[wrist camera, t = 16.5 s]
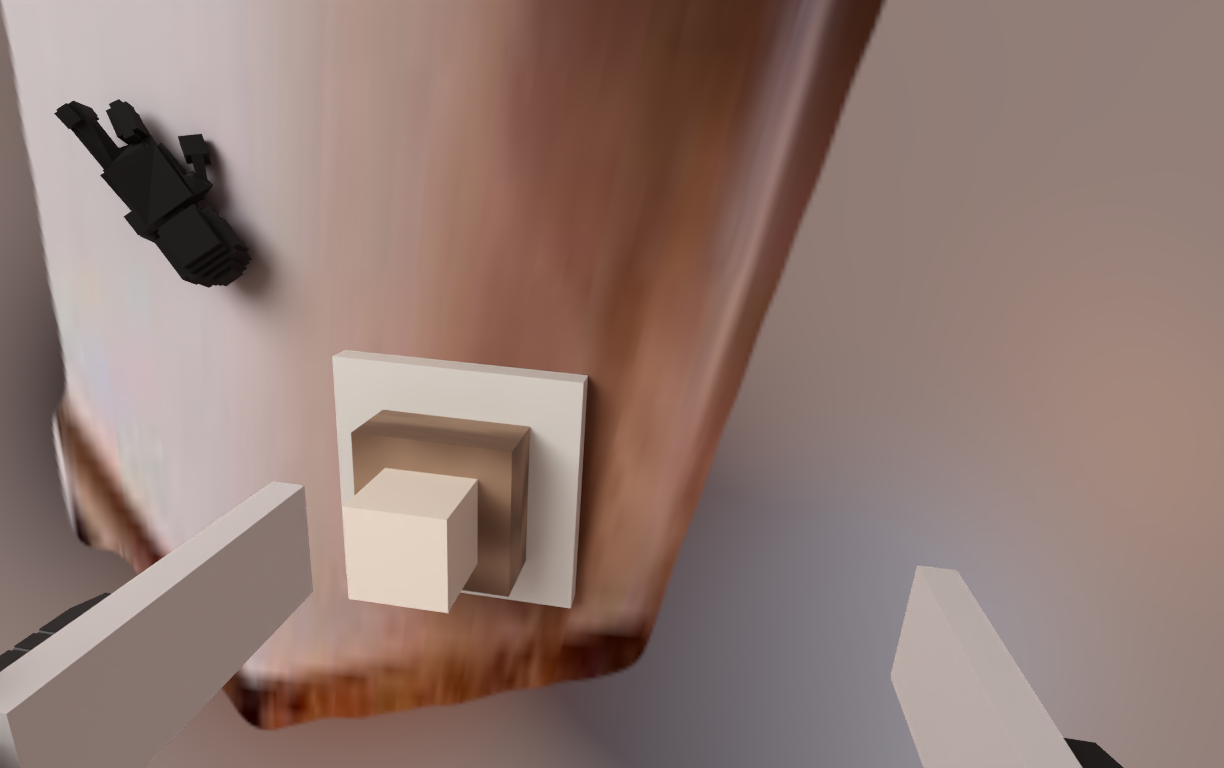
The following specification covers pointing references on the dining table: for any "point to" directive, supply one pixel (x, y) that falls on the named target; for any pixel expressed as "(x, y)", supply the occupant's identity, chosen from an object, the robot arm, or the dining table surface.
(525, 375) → the plinth
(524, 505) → the walnut brick
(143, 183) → the toy
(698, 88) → the dining table surface
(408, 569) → the cream brick
